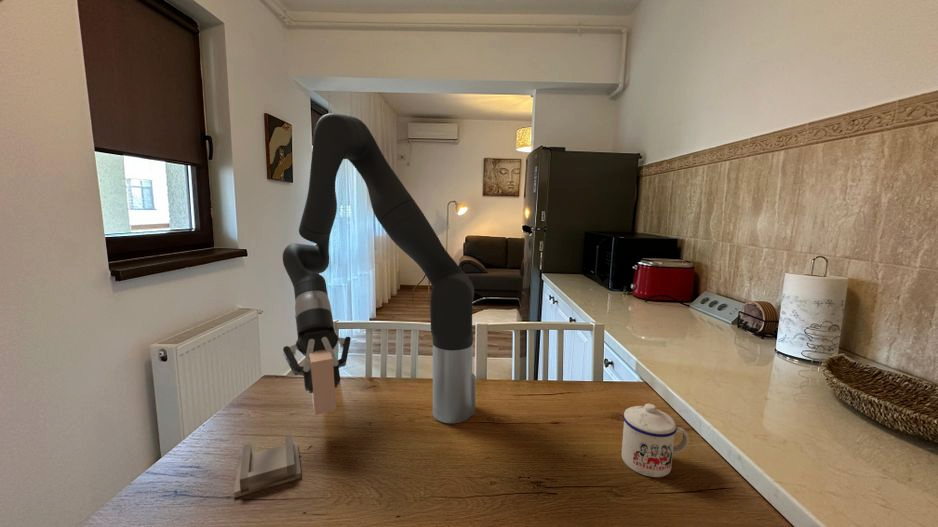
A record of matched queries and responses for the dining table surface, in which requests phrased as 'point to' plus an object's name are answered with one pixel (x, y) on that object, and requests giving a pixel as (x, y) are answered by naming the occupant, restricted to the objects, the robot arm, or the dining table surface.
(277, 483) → the tray
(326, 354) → the clay block
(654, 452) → the teacup with lid
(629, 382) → the dining table surface
